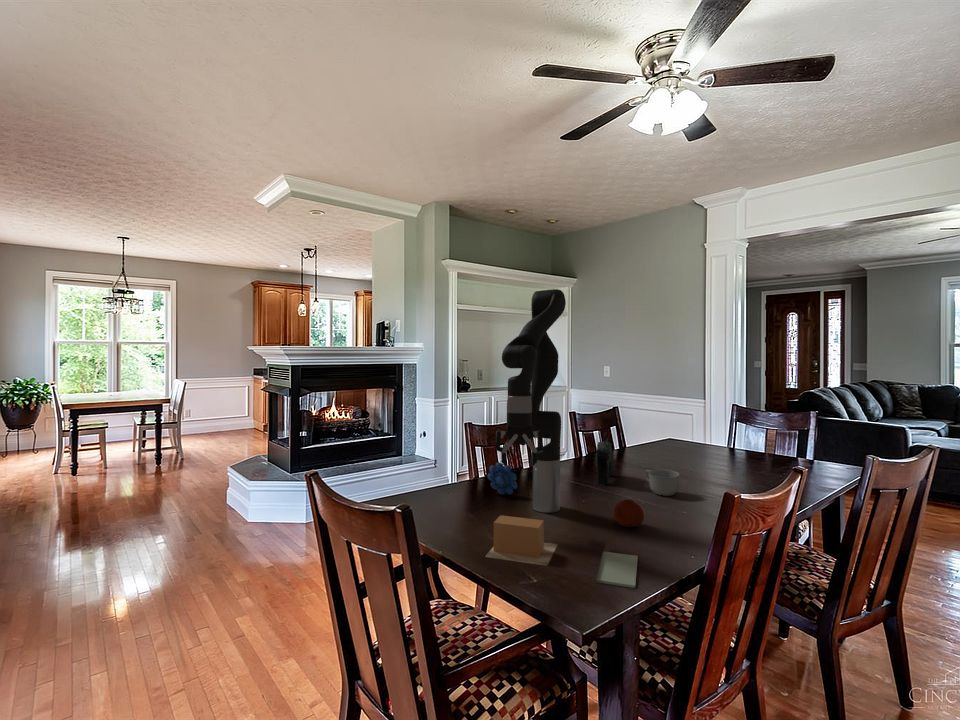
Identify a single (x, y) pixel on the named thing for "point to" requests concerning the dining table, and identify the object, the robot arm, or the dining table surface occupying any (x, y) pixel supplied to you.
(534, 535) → the block
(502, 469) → the grapes
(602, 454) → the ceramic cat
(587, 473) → the dining table surface
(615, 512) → the fruit
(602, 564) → the mat
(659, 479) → the teacup
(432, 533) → the dining table surface
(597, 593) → the dining table surface
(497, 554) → the board
